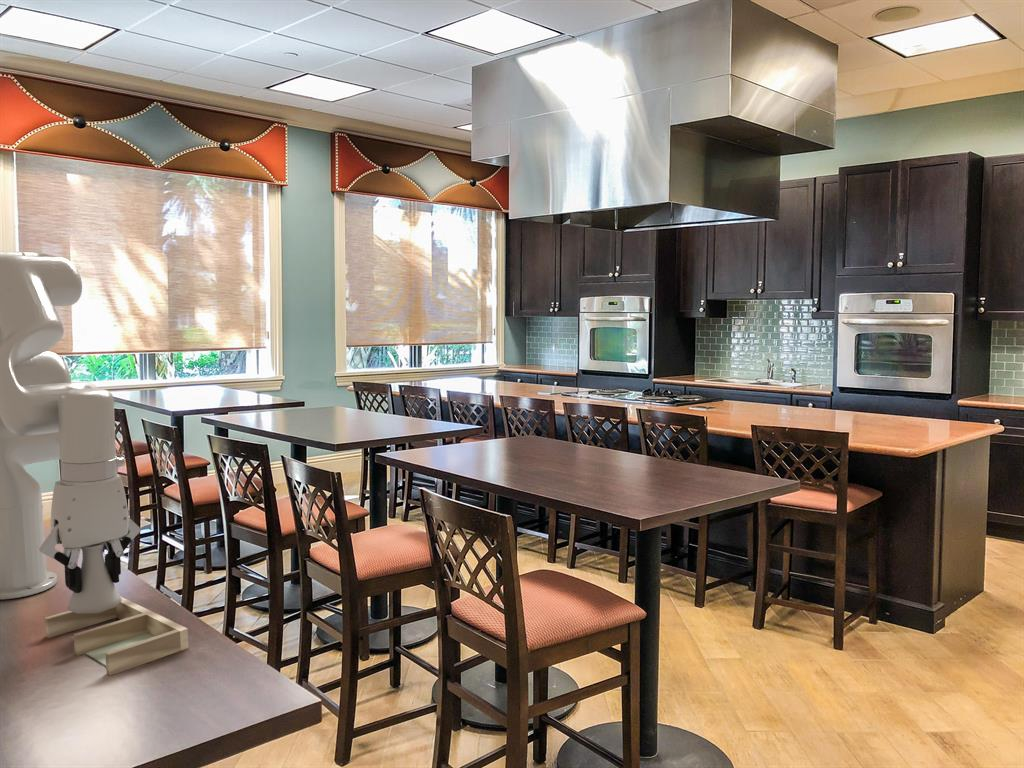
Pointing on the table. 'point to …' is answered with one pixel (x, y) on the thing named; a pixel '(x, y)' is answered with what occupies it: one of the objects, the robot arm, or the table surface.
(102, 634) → the comb rack
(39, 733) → the table surface
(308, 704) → the table surface
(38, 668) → the table surface
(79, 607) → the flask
